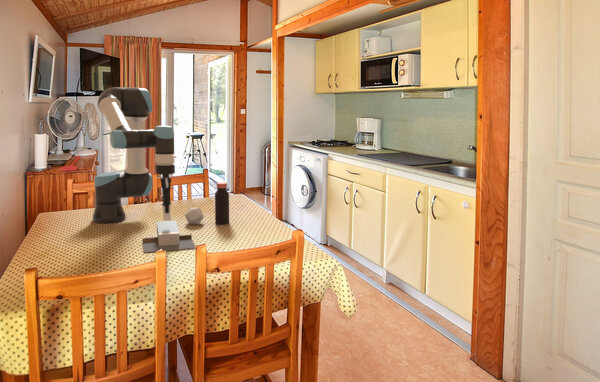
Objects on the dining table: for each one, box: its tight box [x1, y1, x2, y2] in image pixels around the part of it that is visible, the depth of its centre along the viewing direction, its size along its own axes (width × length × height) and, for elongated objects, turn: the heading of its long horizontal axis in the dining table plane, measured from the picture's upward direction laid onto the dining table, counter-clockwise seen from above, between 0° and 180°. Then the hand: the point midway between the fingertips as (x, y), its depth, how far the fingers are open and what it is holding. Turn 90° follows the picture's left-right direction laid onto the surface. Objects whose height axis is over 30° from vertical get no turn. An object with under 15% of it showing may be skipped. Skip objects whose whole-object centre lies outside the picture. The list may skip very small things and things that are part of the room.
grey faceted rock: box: [184, 207, 205, 225], centre depth 227 cm, size 8×9×10 cm
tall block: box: [156, 220, 180, 246], centre depth 195 cm, size 5×8×12 cm
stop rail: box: [142, 233, 193, 243], centre depth 198 cm, size 1×20×2 cm, turn 111°
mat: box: [142, 239, 196, 254], centre depth 191 cm, size 14×20×1 cm
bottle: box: [214, 181, 230, 226], centre depth 228 cm, size 7×7×20 cm
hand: (167, 220), depth 195 cm, fingers closed
